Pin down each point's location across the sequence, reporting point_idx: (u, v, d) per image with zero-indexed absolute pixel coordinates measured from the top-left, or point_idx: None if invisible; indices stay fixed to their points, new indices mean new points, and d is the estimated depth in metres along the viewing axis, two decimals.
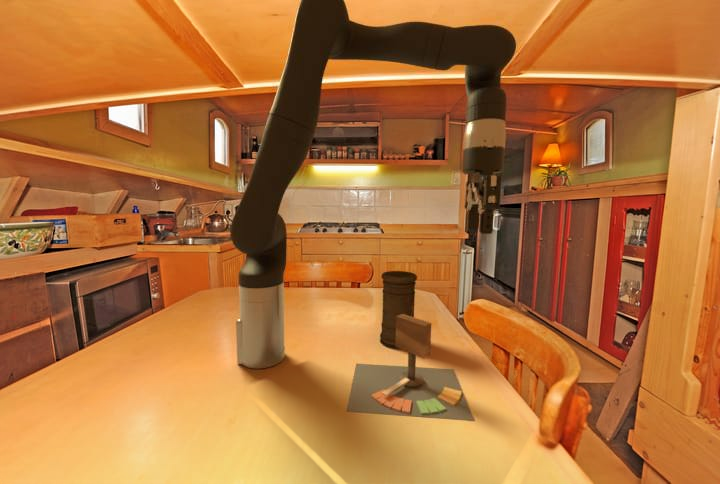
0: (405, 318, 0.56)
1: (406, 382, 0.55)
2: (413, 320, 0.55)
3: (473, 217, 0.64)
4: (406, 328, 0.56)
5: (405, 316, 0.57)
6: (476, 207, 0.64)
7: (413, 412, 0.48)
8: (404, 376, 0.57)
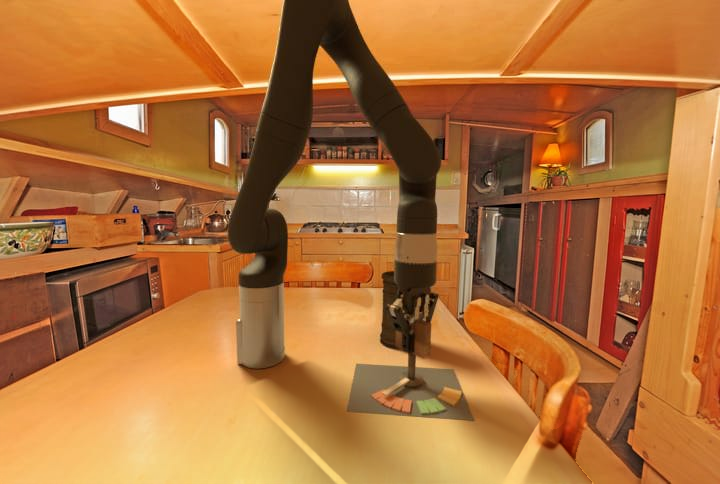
0: None
1: (406, 382, 0.55)
2: None
3: None
4: None
5: None
6: None
7: (413, 412, 0.48)
8: (404, 376, 0.57)
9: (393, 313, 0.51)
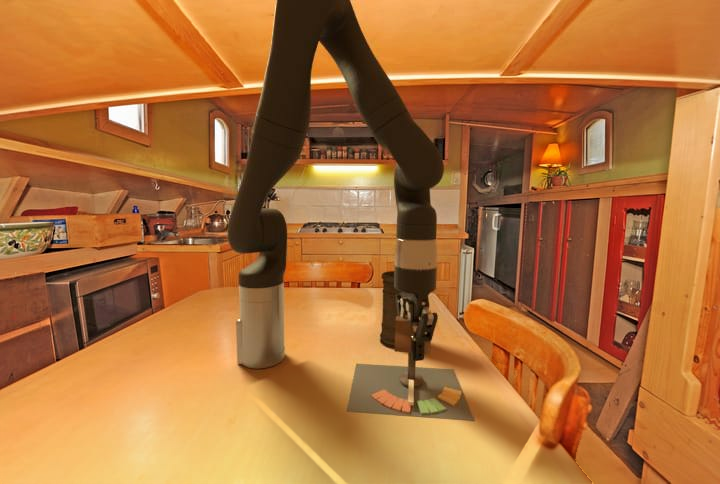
0: (405, 320, 0.55)
1: (413, 383, 0.55)
2: None
3: None
4: (408, 330, 0.55)
5: (403, 318, 0.56)
6: (416, 334, 0.54)
7: (413, 412, 0.48)
8: (404, 378, 0.56)
9: (431, 321, 0.49)
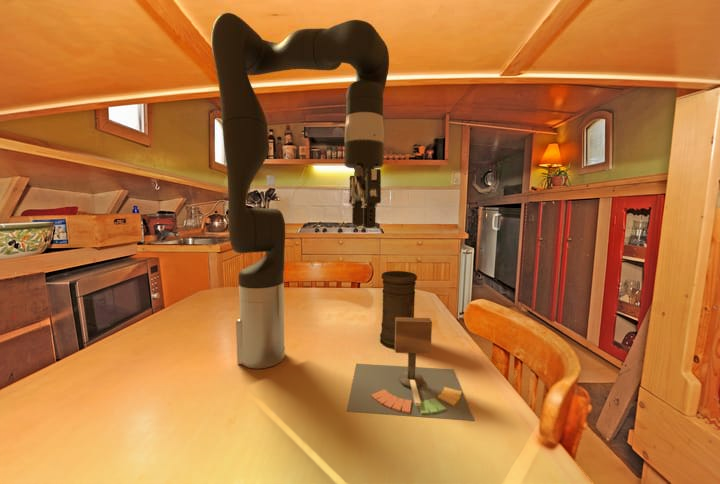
0: (406, 320, 0.55)
1: None
2: (414, 320, 0.55)
3: None
4: (409, 330, 0.55)
5: (403, 319, 0.56)
6: None
7: (413, 412, 0.48)
8: (405, 379, 0.56)
9: (375, 174, 0.52)
